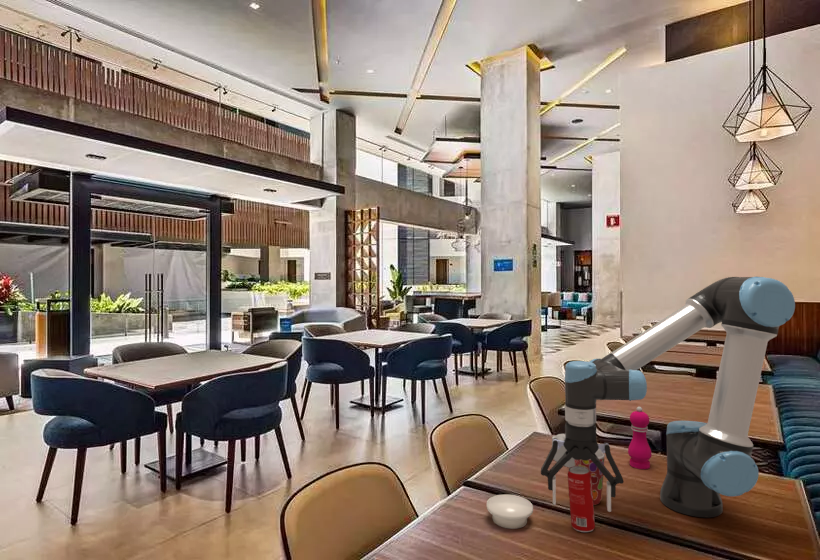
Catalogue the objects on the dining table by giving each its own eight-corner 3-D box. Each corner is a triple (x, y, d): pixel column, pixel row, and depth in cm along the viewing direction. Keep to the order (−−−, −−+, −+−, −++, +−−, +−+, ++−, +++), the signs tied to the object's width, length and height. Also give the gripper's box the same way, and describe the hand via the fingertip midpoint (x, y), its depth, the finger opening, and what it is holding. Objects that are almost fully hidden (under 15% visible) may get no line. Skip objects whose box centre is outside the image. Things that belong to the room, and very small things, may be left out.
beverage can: (598, 533, 121) (597, 474, 120) (572, 533, 121) (571, 474, 121) (589, 521, 127) (589, 464, 126) (565, 521, 127) (564, 464, 127)
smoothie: (582, 491, 144) (581, 424, 144) (610, 500, 138) (609, 431, 138) (568, 500, 138) (568, 431, 138) (597, 510, 132) (596, 438, 132)
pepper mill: (655, 470, 159) (655, 409, 159) (633, 470, 159) (633, 409, 159) (645, 461, 166) (645, 403, 166) (624, 461, 166) (624, 403, 166)
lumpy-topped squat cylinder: (574, 453, 175) (574, 429, 174) (595, 467, 162) (595, 441, 162) (548, 456, 172) (548, 432, 172) (567, 470, 160) (567, 444, 160)
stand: (533, 511, 132) (533, 497, 132) (531, 534, 120) (531, 518, 120) (489, 506, 135) (489, 492, 135) (483, 527, 124) (483, 512, 124)
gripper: (530, 423, 123) (531, 506, 124) (635, 431, 116) (636, 519, 116) (531, 414, 130) (532, 493, 131) (630, 422, 123) (631, 505, 124)
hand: (581, 505), depth 124 cm, fingers open, 12 cm apart
